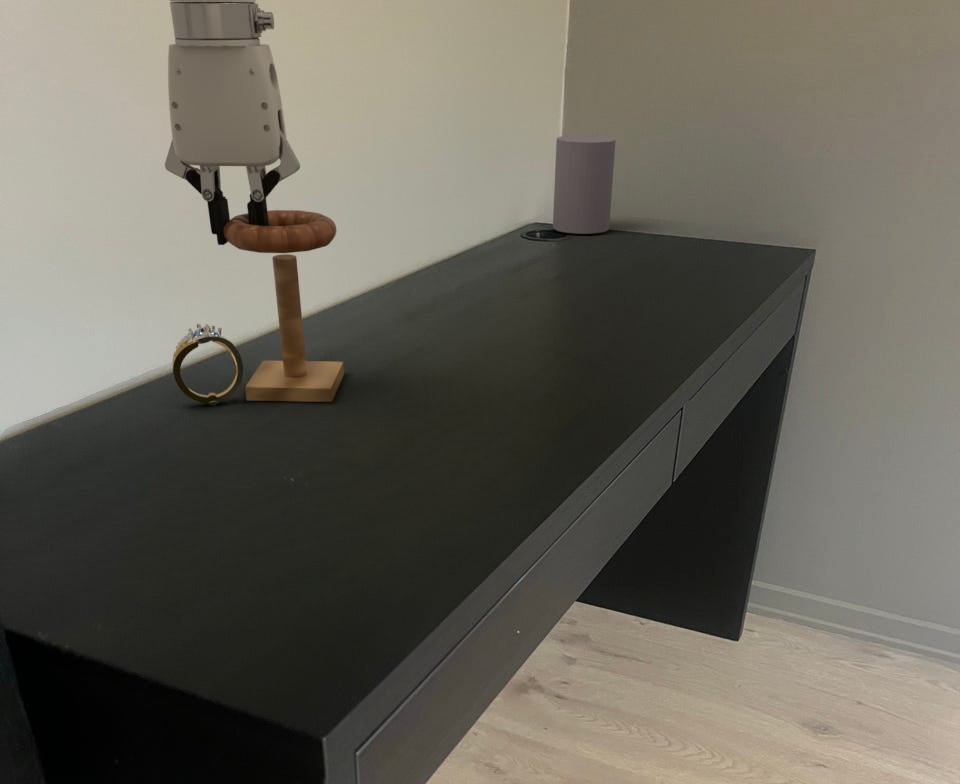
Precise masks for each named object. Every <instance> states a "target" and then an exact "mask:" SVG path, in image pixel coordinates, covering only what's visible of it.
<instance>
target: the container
mask: <svg viewBox="0 0 960 784" xmlns="http://www.w3.org/2000/svg"><path fill="white" fill-rule="evenodd" d="M616 142H617V141H616V138H615V137H611V136H603V135H591V134H590V135H589V134H588V135H587V134H586V135H585V134H584V135H581V134H579V135H577V134H575V135H562V136H558V137H556V143H555V145H556V146H555V169H554V187H553V188H554V190H553V211H552V229H553V230H554V231H555V232H557V233H560V234H564V235H572V236H594V235H596V236H597V235H600V234H605V233H606V232H608V231H609V230H610V224H611V223H610V221H611V208H612V207H611V206H612V195H613V194H612V193H613V181H614V168H615V153H616Z"/></svg>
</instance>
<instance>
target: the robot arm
mask: <svg viewBox="0 0 960 784" xmlns="http://www.w3.org/2000/svg"><path fill="white" fill-rule="evenodd" d="M256 2H257V0H169V7H170V14H171V15H170V16H171V23H172V28H173V29H172V30H173V36H174V42H175V43H173V44H172V43H171V44H169V45H168V55H167V84H168V85H167V86H168V87H167V88H168V108H169V109H168V110H169V119H170V129H171V138H172V139H171V142H170V145H169V149H168V151H167V156H166V159H165V162H164V168H165V170H166V171H167V172H169V173H171V174H173V175H175V176H177V177H179V178H180V179H182V180H183V179H184V180H185V181H187V183H189V185H191V186H192V188H194V190H196V191H197V192H198V193H199V194H200V195H201V197H202V199H203V200H204V201H205V202H207V209H208V217H209V224H210V231H211V234H212V235H216V241H217V242H216V243H217V245H218V246H224V245H226V244H227V243H229V242H228V241H227V240H226V239H225V236H224V226H225V224H226V223H227V222H228V221H229V220H231V216H230V209H229V204H228V203H229V202H228V199H227V198H226V196H224V192H223V190H222V185H221V183H222V182H221V169H220V168H221V167H245V168H246V174H247V180H248V185H249V191H250V194H249V201H248V202H247V204H246V207H247V209H246V210H247V213H248V217H249V224H251V225H258V226H269V222H268V212H267V211H268V204H267V197H268V196H269V195H270V194H271V192H272V191H273V190H274V189H275V188H276V186H277V185H278V184H279V183H280V182H282V181H283V180H285V179H287V178H289V177H290V176H292V175H294V174H296V173H297V172H298V171H299V170H300V168H301V164H300V161H299V159H298V158H297V156H296V154H295V152H294V150H293V148H292V147H291V145H290V143H289V141H288V139H287V130H286V124H285V123H286V122H285V118H284V110H283V103H282V97H281V92H280V85H279V80H278V75H277V69H276V66H275V62H274V58H273V53H272V50H271V47H270V44H265V43H261V40H260V38H262V34H263V32H266V31H267V30H274V29H275V19H274V18H275V17H274V13H273V12H272V11H265V10H264V9H261V8H259V3H256ZM278 160H279V161H280V162H279V165H277V166H275V167H274V168H272V169H270V170H269V171H268V172H267V170H266V169H267V168H266V166H270V165H272V164H275V163H276V162H277V161H278ZM194 166H198V167H199V168H198V167H194Z"/></svg>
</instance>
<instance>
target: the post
mask: <svg viewBox="0 0 960 784" xmlns="http://www.w3.org/2000/svg"><path fill="white" fill-rule="evenodd" d="M271 258H272V259H271V260H272V266H273V267H272V268H273V276H274V289H275V296H276V306H277V317H278V326H279V336H280V337H279V338H280V346H281V355H282V356H281V357H282V360H262V361H261V363H260V364H259V365H258V367H257V369H256V370H255V372H254V373H253V374H252V376H251V377H250V379H249V380H248V382H247V383H246V385H245V386H244V392H245V399H246V401H247V402H250V401H251V402H305V403H332V402H333V400H334V398H335V396H336V394H337V391H338V389H339V387H340V384H341V382H342V380H343V378H344V376H345V368H344V361H322V360H321V361H319V360H317V361H314V360H307V359H306V349H305V338H304V337H305V335H304V325H303V316H302V315H303V314H302V303H301V294H300V293H301V292H300V291H301V290H300V283H299V282H300V281H299V269H298V261H297V256H296V255H294V254H290V253H281V254H276V255H273V256H272V257H271Z"/></svg>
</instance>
